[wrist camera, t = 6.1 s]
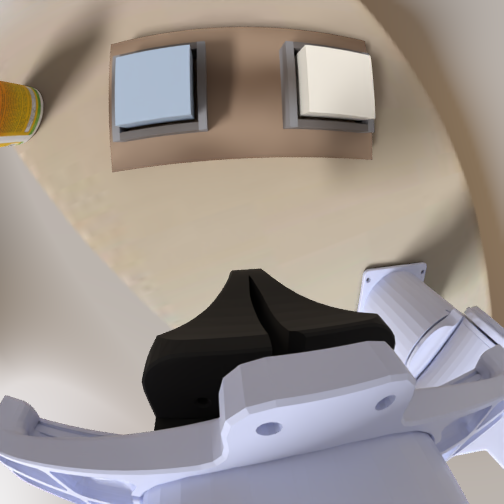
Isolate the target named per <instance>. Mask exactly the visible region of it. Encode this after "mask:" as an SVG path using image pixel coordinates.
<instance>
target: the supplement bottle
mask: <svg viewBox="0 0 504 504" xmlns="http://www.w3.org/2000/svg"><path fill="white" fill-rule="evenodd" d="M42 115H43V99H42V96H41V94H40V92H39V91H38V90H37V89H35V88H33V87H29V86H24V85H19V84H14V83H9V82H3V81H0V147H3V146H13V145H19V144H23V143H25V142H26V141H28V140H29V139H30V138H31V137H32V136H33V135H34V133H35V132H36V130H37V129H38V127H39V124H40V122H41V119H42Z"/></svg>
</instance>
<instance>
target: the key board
mask: <svg viewBox="0 0 504 504" xmlns="http://www.w3.org/2000/svg"><path fill="white" fill-rule="evenodd" d="M182 45H190V48H191V51H192V55H193V85H194V117H195V119H192V120H182V121H173V122H166V123H158V124H151V125H145V126H139V127H133V128H124V127H119V126H115V66H116V58H117V57H121V56H125V55H129V54H134V53H139V52H144V51H149V50H155V49H161V48H167V47H174V46H182ZM305 45H312V46H320V47H327V48H334V49H340V50H345V51H350V52H355V53H360V54H365V55H369V53H366V45H365V41H362V40H358V39H353V38H348V37H344V36H338V35H333V34H327V33H320V32H313V31H305V30H296V29H284V28H268V27H221V28H204V29H193V30H184V31H176V32H169V33H162V34H156V35H151V36H146V37H141V38H136V39H131V40H127V41H123V42H119V43H115V44H111V51H110V68H109V129H110V148H111V161H112V172H117V171H124V170H130V169H137V168H144V167H151V166H159V165H167V164H176V163H186V162H197V161H209V160H222V159H240V158H265V157H328V158H353V159H370V160H372V132H374V119H367V120H360V121H356V120H346V119H335V118H322V117H304V116H298V101H297V82H296V66H295V56H296V54H297V53H298V52H299V51H300V50H301V49H302V48H303V47H304V46H305Z"/></svg>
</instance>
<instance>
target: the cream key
mask: <svg viewBox="0 0 504 504" xmlns="http://www.w3.org/2000/svg"><path fill="white" fill-rule="evenodd" d="M295 66H296V82H297V101H298V116H304V117H322V118H335V119H346V120H356V121H360V120H367V119H375V99H374V85H373V74H372V64H371V56H369V55H365V54H360V53H355V52H350V51H345V50H340V49H334V48H327V47H320V46H312V45H305V46H304V47H303V48H302V49H301V50H300V51H299V52H298V53H297V54H296V56H295Z"/></svg>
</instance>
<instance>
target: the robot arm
mask: <svg viewBox="0 0 504 504" xmlns="http://www.w3.org/2000/svg"><path fill="white" fill-rule="evenodd" d="M426 268H427V265H426V263H424V262H420V263H412V264H405V265H397V266H389V267H381V268H373V269H367V270H365V271H364V273H363V279H362V285H361V292H360V298H359V304H358V310H357V312H354V311H348V310H343V309H338V308H334V307H330V306H327V305H324V304H321V303H318V302H315V301H312V300H310V299H308V298H305V297H303V296H301V295H299V294H297V293H295V292H294V291H292V290H290V289H288V288H287V287H285V286H284V285H282V284H281V283H279V282H278V281H276V280H275V279H274V278H272V277H271V276H270V275H268V274H267V273H266V272H265V271H263V270H262V269H248V270H234V271H231V273H230V275H229V278H228V280H227V282H226V284H225V286H224V288H223V289H222V291H221V292H220V294H219V295H218V296H217V298H216V299H215V300H214V302H213V303H212V304H211V305H210V306H209V307H208V308H207V309H206V310H205V311H203V312H202V313H201V314H199V315H198V316H197V317H196V318H194V319H193V320H191V321H189V322H188V323H186V324H184V325H182V326H180V327H178V328H176V329H174V330H171V331H169V332H166V333H163V334H161V335H158V336H157V337H156V339H155V341H154V343H153V345H152V347H151V349H150V352H149V355H148V357H147V360H146V364H145V368H144V372H143V377H142V385H143V389H144V392H145V394H146V397H147V399H148V401H149V403H150V406H151V408H152V410H153V412H154V414H155V416H156V422H155V428H154V431H150V432H143V433H136V434H126V435H121V434H113V433H107V432H100V431H94V430H89V429H84V428H79V427H74V426H69V425H65V424H61V423H57V422H53V421H49V420H46V419H42V418H40V417H39V416H38V414H37V412H36V411H35V410H34V408H33V407H32V406H31V405H29V404H28V403H27V402H25V401H22V400H19V399H16V398H13V397H10V396H4V398H3V400H2V402H1V403H0V462H1V463H2V464H3V465H4V466H6V467H7V468H8V469H9V470H10V471H11V472H13V473H14V474H15V475H16V476H17V477H19V478H20V479H21V480H23V481H24V482H27V483H29V484H31V485H33V486H35V487H37V488H39V489H42V490H44V491H46V492H48V493H50V494H53V495H55V496H58V497H60V498H63V499H65V500H68V501H70V502H72V503H75V504H469V503H468V501H467V499H466V497H465V495H464V493H463V491H462V490H461V488H460V486H459V484H458V483H457V481H456V479H455V477H454V475H453V474H452V472H451V470H450V469H449V467H448V465H447V463H446V461H448V460H449V459H451V458H452V457H454V456H455V455H462V454H467V453H471V452H476V451H482V450H486V451H487V452H488V453H489V454H490V455H491V456H492V457H493V458H494V459H495V460H496V461H497V462H498V463H499V464H500V466H501V467H502V468H503V469H504V328H503V327H502V326H501V325H499V324H498V323H497V322H496V321H495V320H493V319H492V318H491V317H490V316H489V315H487V314H486V313H485V312H484V311H482V310H481V309H480V308H479V307H477V306H474V307H471V308H470V307H468V308H467V309H466V311H465V312H464V313H465V315H464V314H463V313H461V312H460V311H458V310H457V309H456V308H455V307H453V306H452V305H451V304H450V303H449V302H447V301H446V300H445V299H444V298H442V297H441V296H440V295H439V294H438V293H436V292H435V291H434V290H433V289H431V288H430V287H429V286H427V285H426V284H425V283H424V277H425V273H426ZM421 271H422V272H421ZM367 278H369V279H368V281H366V280H367Z"/></svg>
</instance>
